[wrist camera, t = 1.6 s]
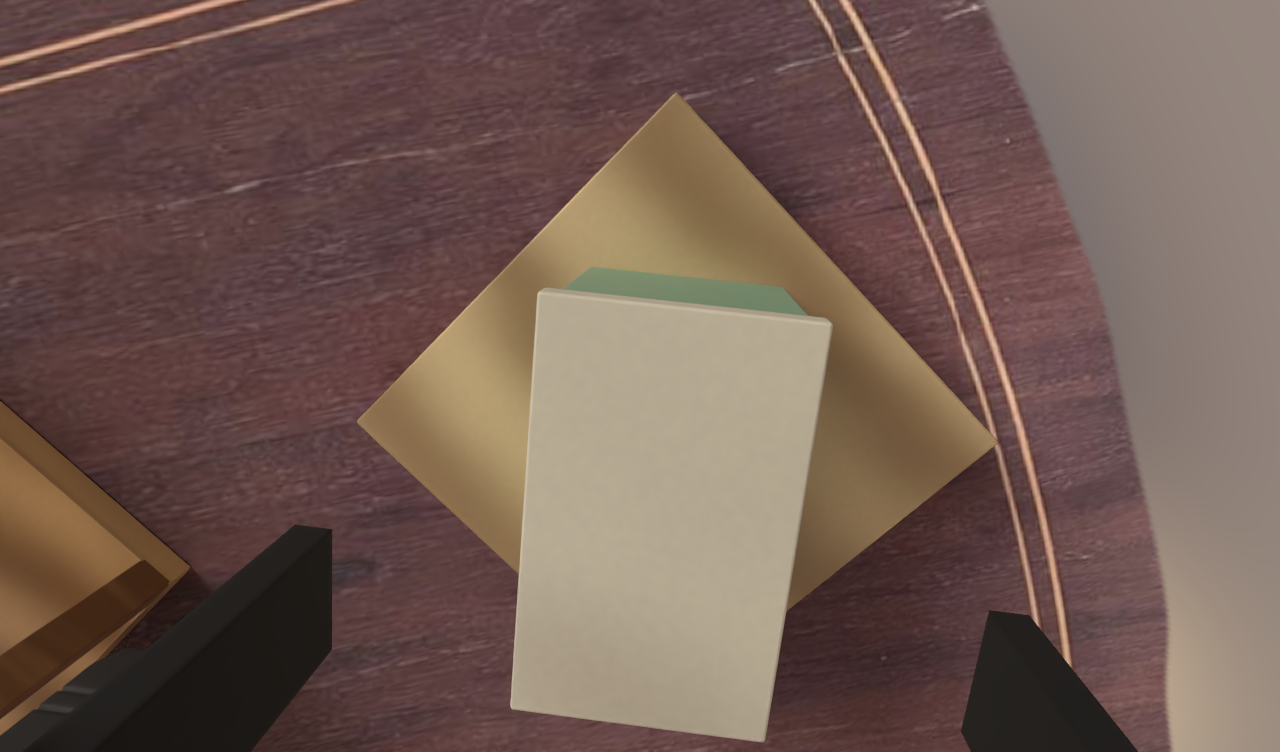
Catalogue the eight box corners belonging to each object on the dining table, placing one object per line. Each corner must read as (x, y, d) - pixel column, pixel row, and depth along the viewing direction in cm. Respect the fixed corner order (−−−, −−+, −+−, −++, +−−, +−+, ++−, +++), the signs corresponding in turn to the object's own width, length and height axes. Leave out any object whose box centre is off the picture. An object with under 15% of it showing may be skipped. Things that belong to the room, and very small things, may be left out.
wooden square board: (678, 101, 27) (676, 90, 24) (969, 417, 29) (999, 443, 26) (387, 399, 30) (354, 422, 27) (665, 663, 32) (662, 711, 29)
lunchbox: (584, 259, 25) (536, 291, 18) (790, 281, 25) (834, 323, 17) (559, 567, 28) (509, 710, 20) (745, 590, 28) (765, 744, 20)
